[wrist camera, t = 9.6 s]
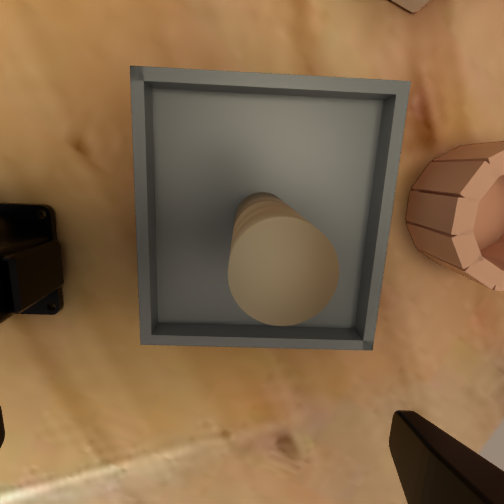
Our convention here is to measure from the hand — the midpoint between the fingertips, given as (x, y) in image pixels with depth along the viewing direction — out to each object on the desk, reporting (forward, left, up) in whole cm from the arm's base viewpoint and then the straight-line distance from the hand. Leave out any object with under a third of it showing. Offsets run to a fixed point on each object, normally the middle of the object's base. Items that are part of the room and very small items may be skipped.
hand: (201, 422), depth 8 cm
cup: (+14, +4, -13) cm, 20 cm away
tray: (+2, +3, -13) cm, 13 cm away
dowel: (+2, +3, -12) cm, 13 cm away
